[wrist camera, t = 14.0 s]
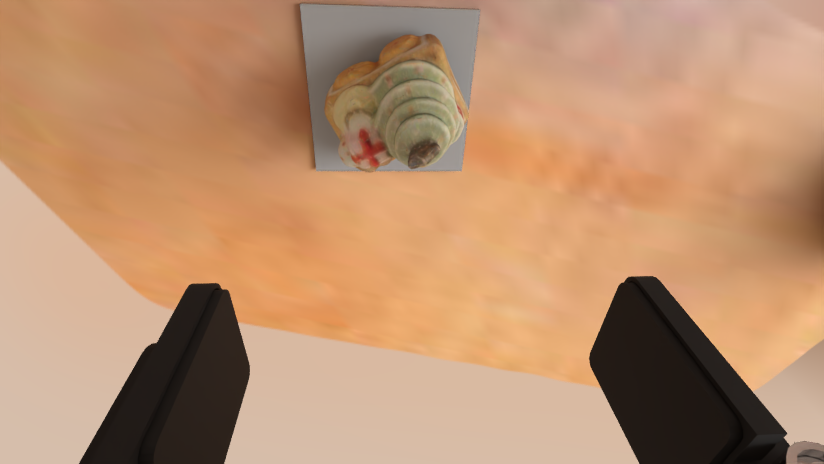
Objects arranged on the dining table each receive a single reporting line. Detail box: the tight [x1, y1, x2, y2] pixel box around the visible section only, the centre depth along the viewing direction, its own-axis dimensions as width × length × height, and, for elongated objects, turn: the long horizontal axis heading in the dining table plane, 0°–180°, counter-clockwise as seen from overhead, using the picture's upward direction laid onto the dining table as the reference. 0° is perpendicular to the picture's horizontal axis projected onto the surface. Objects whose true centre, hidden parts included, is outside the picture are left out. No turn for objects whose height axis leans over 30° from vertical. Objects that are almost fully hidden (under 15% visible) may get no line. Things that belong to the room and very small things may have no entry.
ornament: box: [324, 34, 469, 172], centre depth 22 cm, size 8×6×10 cm
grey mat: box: [300, 3, 480, 171], centre depth 26 cm, size 10×10×1 cm
